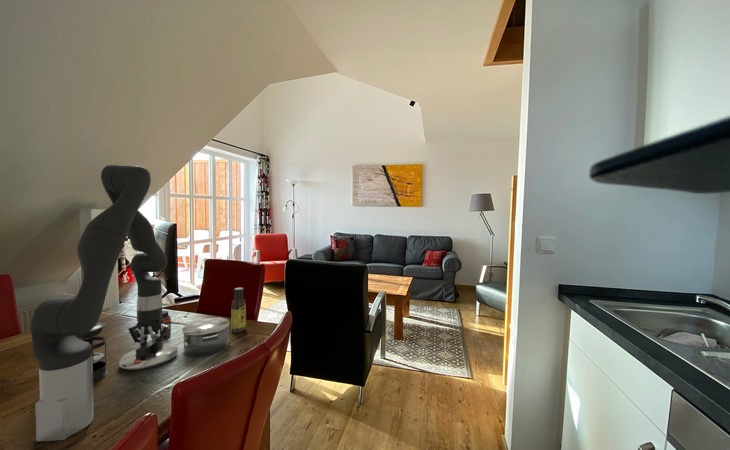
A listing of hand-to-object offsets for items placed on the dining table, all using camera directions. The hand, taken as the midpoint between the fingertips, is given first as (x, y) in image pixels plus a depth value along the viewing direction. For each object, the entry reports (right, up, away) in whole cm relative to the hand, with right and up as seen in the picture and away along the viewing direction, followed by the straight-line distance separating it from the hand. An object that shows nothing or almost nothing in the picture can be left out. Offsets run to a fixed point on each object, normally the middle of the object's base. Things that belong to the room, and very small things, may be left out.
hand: (150, 352), depth 104 cm
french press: (-12, -3, -12) cm, 17 cm away
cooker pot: (+15, -3, +11) cm, 19 cm away
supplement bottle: (-9, -2, +19) cm, 21 cm away
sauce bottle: (+20, -2, +28) cm, 34 cm away
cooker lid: (0, -2, 0) cm, 2 cm away
